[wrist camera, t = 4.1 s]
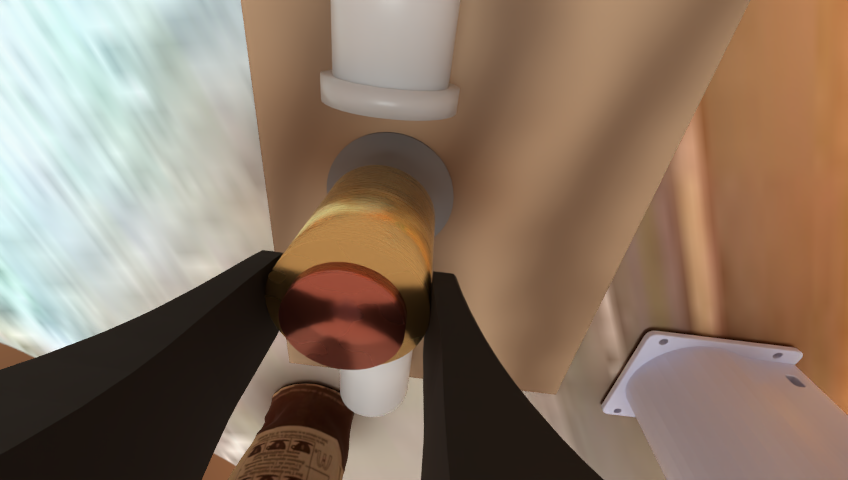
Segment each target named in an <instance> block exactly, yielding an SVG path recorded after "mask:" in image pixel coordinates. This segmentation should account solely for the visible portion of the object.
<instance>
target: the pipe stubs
mask: <svg viewBox="0 0 848 480" xmlns="http://www.w3.org/2000/svg"><path fill="white" fill-rule="evenodd" d="M459 6H460V0H331V39H332V70H326V71H322V72H321V73H320V87H321V101H322V102H323V103H324V104H326V105H328V106H329V107H332V108H335V109H338V110H341V111H344V112H348V113H352V114H357V115H362V116H368V117H375V118H383V119H392V120H407V121H430V120H441V119H447V118H450V117H453V116H455V115H456V111H457V104H458V98H459V91H460V88H459V87H458V86H456V85H454V84H451V83H449V80H450V73H451V65H452V58H453V50H454V43H455V36H456V28H457V21H458V14H459ZM412 352H413V350H412V351H410V352H409V353H408V354H406V355H404V356H403V357H401V358H399V359H397V360H395V361H392V362H389V363H386V364H381V365H378V366H375V367H372V368H368V369H361V370H343V369H339V374H340V394H341V398H342V400H343V402H344V404H345V405H346V406H347V407H348V408H349V409H350V410H351V411H353V412H354V413H356V414H358V415H361V416H366V417H379V416H383V415H386V414H388V413H391V412H392V411H394V410H395V409H396V408H398V407H399V406H400V405H401V403H402V402H403V400H404V398H405V396H406V393H407V388H408V381H409V374H410V366H411V359H412Z"/></svg>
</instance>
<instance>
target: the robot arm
mask: <svg viewBox="0 0 848 480" xmlns="http://www.w3.org/2000/svg"><path fill="white" fill-rule="evenodd" d="M282 255H283V253H281V252H273V251H265V250H262V251H260V252H258V253H256V254H254V255H253V256H251V257H249V258H247V259H245V260H244V261H242V262H240V263H238V264H237V265H235V266H233V267H231V268H230V269H228V270H226V271H225V272H223V273H221V274H219V275H217V276H216V277H214V278H212V279H210V280H209V281H207V282H205V283H203V284H202V285H200V286H198V287H196V288H194V289H192V290H190V291H189V292H187V293H185V294H183V295H181V296H179V297H177V298H175V299H173V300H171V301H169V302H167V303H165V304H164V305H162V306H160V307H158V308H156V309H154V310H152V311H150V312H147V313H145V314H143V315H141V316H139V317H137V318H135V319H132V320H130V321H128V322H125V323H123V324H121V325H119V326H116V327H114V328H112V329H109V330H107V331H105V332H102V333H100V334H97V335H95V336H92V337H90V338H87V339H84V340H82V341H79V342H76V343H74V344H71V345H69V346H66V347H63V348H61V349H58V350H55V351H53V352H50V353H48V354H45V355H42V356H39V357H37V358H34V359H31V360H28V361H25V362H22V363H19V364H16V365H14V366H10V367H7V368H4V369H1V370H0V480H202V477H203V475H204V473H205V471H206V469H207V466H208V464H209V461H210V459H211V457H212V455H213V453H214V451H215V448H216V446H217V444H218V442H219V440H220V438H221V435H222V433H223V431H224V429H225V427H226V425H227V422H228V420H229V418H230V416H231V414H232V413H233V411H234V409H235V407H236V405H237V403H238V401H239V400H240V398H241V396H242V395H243V393H244V391H245V389H246V388H247V386H248V384H249V383H250V381H251V379H252V377H253V376H254V374H255V372H256V371H257V369H258V367H259V366H260V364H261V362H262V360H263V359H264V357H265V355H266V353H267V352H268V350H269V348H270V346H271V345H272V343H273V341H274V339H275V338H276V336H277V334H278V332H279V329H278V328H277V327H276V325H275V324H274V322H273V320H272V319H271V317H270V314H269V312H268V309H267V306H266V300H265V286H266V282H267V278H268V276H269V274H270V272H271V270H272V269H273V267H274V266H275V264H276V263H277V262H278V260H279V259H280V258H281V256H282ZM802 357H803V353H802V352H801V351H799V350H798V349H797V348H794V347H786V346H778V345H770V344H761V343H753V342H745V341H737V340H728V339H720V338H712V337H704V336H696V335H687V334H679V333H671V332H663V331H650V332H648V333H646V334H645V336H644V337H643V339H642V340H641V342H640V344H639V345H638V347H637V348H636V350H635V352H634V353H633V355H632V357H631V358H630V360H629V361H628V363H627V365H626V366H625V368H624V369H623V371H622V373H621V374H620V376H619V378H618V379H617V381H616V382H615V384H614V386H613V387H612V389H611V390H610V392H609V394H608V395H607V397H606V398H605V400H604V402H603V403H602V405H601V407H602V410H603V412H604V413H607V414H613V415H622V416H630V417H636V419H637V421H638V423H639V425H640V427H641V429H642V431H643V433H644V435H645V437H646V439H647V441H648V443H649V445H650V447H651V449H652V451H653V453H654V455H655V457H656V459H657V461H658V463H659V465H660V467H661V469H662V471H663V473H664V475H665V477H666V479H667V480H848V415H847V414H846V413H845V412H844V411H843V410H842V409H840V408H839V407H838V406H837V405H836V404H835V403H834V402H833V401H832V400H831V399H830V398H829V397H828V396H827V395H826V394H825V393H824V392H823V391H822V390H821V389H819V388H818V387H817V386H816V385H815V384H814V383H813V382H812V381H811V380H810V379H809V378H808V377H807V376H806V375H805V374H804V373H803V372H802V371H801V370H800V369H799V368H797V367H796V366H795V364H796V363H797V362H798V361H799V360H800V359H801V358H802ZM423 396H424V444H423V458H422V473H421V480H603V479H602V478H601V477H600V476H599V475H598V474H597V473H596V472H595V471H594V470H593V469H592V468H591V467H589V466H588V465H587V464H586V463H585V462H584V461H583V460H582V459H581V458H580V457H579V456H578V455H577V454H576V452H575V451H574V450H573V449H572V448H571V447H570V446H569V445H568V444H567V443H566V442H565V441H564V440H563V439H562V438H561V437H560V436H559V435H558V434H557V432H556V431H555V430H554V429H553V428H552V427H551V426H550V424H549V423H548V422H547V421H546V420H545V419H544V417H543V416H542V415H541V414H540V413H539V412H538V411H537V409H536V408H535V407H534V406H533V405H532V404H531V403H530V401H529V400H528V399H527V398H526V396H525V395H524V394H523V392H522V391H521V390H520V388H519V387H518V386H517V385H516V383H515V382H514V381H513V379H512V378H511V376H510V375H509V374H508V372H507V371H506V370H505V368H504V367H503V365H502V364H501V362H500V361H499V359H498V358H497V356H496V355H495V353H494V352H493V350H492V348H491V347H490V345H489V343H488V342H487V340H486V338H485V337H484V335H483V333H482V331H481V330H480V328H479V326H478V324H477V322H476V320H475V318H474V317H473V315H472V313H471V311H470V309H469V307H468V304H467V302H466V300H465V298H464V296H463V293H462V291H461V288H460V286H459V283H458V280H457V277H456V276H455V275H454V274H452V273H444V272H436V271H433V276H432V283H431V299H430V318H429V324H428V328H427V330H426V333H425V335H424V344H423Z"/></svg>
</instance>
